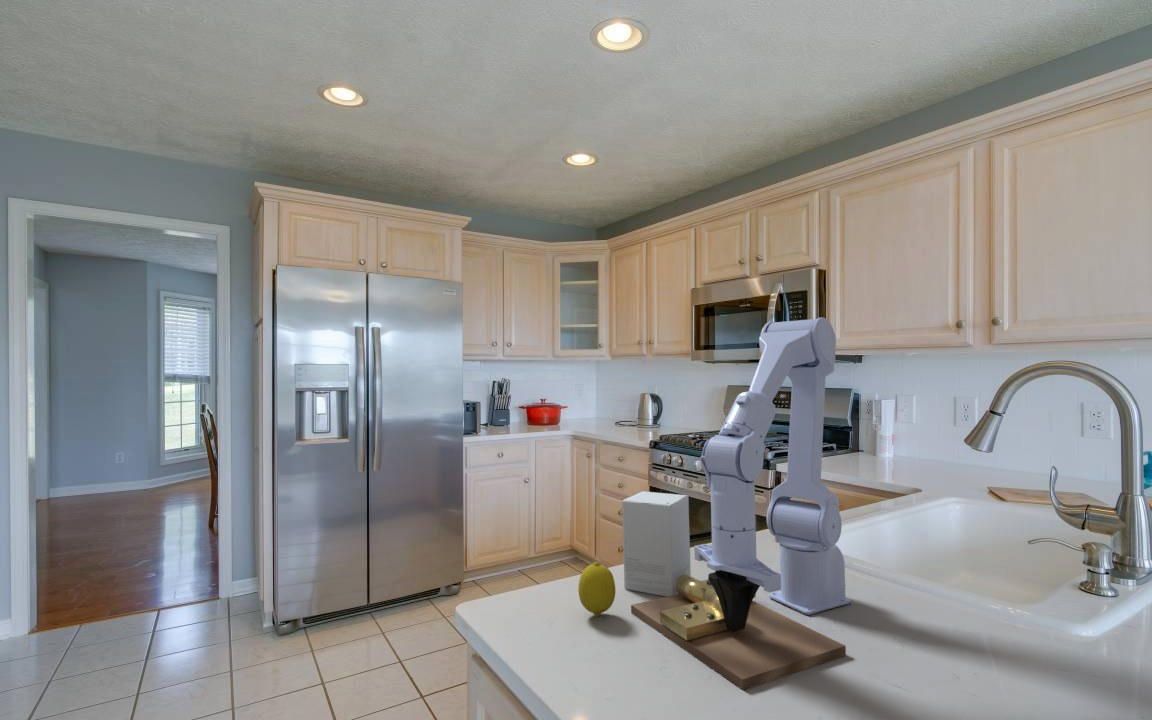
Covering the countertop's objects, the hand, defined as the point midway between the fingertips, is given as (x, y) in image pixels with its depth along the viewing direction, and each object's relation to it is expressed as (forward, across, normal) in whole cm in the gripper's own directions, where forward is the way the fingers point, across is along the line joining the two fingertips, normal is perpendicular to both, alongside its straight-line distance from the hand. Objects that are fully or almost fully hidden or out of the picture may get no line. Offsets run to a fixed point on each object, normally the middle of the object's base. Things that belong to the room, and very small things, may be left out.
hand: (735, 628), depth 76 cm
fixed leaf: (+1, -12, +6) cm, 13 cm away
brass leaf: (+1, -4, -2) cm, 5 cm away
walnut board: (+2, -3, +1) cm, 4 cm away
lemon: (+2, -17, -12) cm, 21 cm away
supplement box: (+2, -23, +3) cm, 23 cm away
